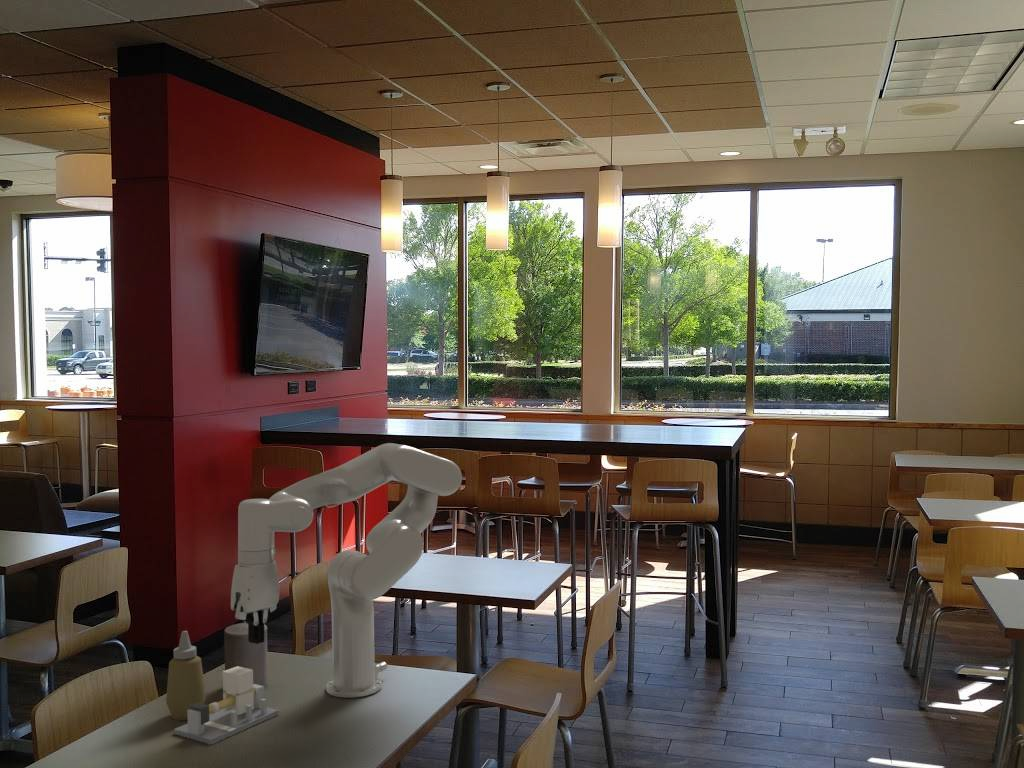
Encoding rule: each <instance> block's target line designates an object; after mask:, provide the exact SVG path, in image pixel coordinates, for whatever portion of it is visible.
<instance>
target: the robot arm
mask: <svg viewBox="0 0 1024 768" xmlns="http://www.w3.org/2000/svg"><path fill="white" fill-rule="evenodd" d="M462 480H463V475H462V472H461V469H460V467H459V465H457V464H456V463H455V462H454V461H452V460H451V459H450V460H449V459H447V458H444V457H441V456H438V455H435V454H433V453H430V452H426V451H424V450H421V449H418V448H416V447H413V446H409V445H406V444H398V443H393V442H387V443H382V444H380V445H378V446H376V447H373V448H372V449H370V450H368V451H366V452H364V453H363V454H360V455H358V456H357V457H354V458H353V459H351V460H349V461H346V462H345V463H343V464H340V465H339V466H336V467H334V468H331V469H328V470H325V471H323V472H320V473H317V474H315V475H312V476H309V477H307V478H304V479H302V480H299V481H297V482H295V483H293V484H291V485H289V486H287V487H285V488H283V489H281V490H279V491H277V492H276V493H274V494H273V495H272V496H270V497H269V498H250V499H248V498H247V499H244V500H242V501H240V502H239V505H238V507H237V508H238V512H237V516H238V517H237V522H238V523H237V527H238V528H237V534H238V535H237V539H238V540H237V546H238V547H237V551H238V552H237V556H238V557H237V564H236V565H234V568H233V575H232V581H231V589H230V609H231V610H232V611H234V612H235V615H234V618H235V620H243V621H244V623H245V622H246V624H248V641H249V642H251V643H256V644H259V643H262V642H264V624H266V623H267V621H268V617H269V616H270V614H271V613H272V612H274V611H275V610H277V604H278V603H279V601H280V599H279V598H280V584H279V583H280V580H279V573H278V572H279V570H278V565H277V562H276V560H275V554H277V549H276V548H275V532H277V533H278V532H283V533H299V532H301V531H304V530H306V529H307V528H308V527H309V526H310V525H311V524H312V522H313V521H314V520H313V519H314V510H315V509H318V508H320V507H325V506H328V505H338V504H345V503H350V502H353V501H356V500H357V499H359V498H361V497H363V496H365V495H366V494H368V493H371V492H373V491H374V490H376V489H377V488H379V487H381V486H383V485H385V484H387V483H389V482H391V481H394V482H398V483H399V482H400V483H402V484H405V485H407V490H406V494H405V497H404V499H403V500H402V501H401V502H400V504H398V505H397V506H396V507H395V508H394V509H393V510H392V511H391V512H389V513H388V514H387V515H386V516H385V517H384V518H383V519H382V520H381V521H380V522H378V523H377V524H376V525H374V526H373V527H372V529H371V530H370V531H369V532H368V534H367V536H366V539H365V548H366V549H367V551H368V553H369V554H367V553H364V552H361V551H358V550H353V549H348V550H346V549H345V550H342V551H340V552H338V553H337V554H335V556H333V558H332V559H331V560H330V563H329V565H328V568H327V583H328V584H327V585H328V589H329V596H330V604H331V605H330V607H331V644H332V646H331V647H332V649H331V651H332V654H331V655H332V680H330V681H328V682H327V684H326V685H325V689H326V691H325V692H326V693H327V694H329V695H330V696H333V697H337V698H345V699H346V698H347V699H348V698H351V699H352V698H361V697H362V698H363V697H367V696H369V695H373V694H375V693H377V692H379V691H380V690H381V688H382V687H383V682H382V681H383V680H382V679H380V678H379V677H378V675H379V673H381V672H384V671H386V670H387V668H388V664H387V663H386V662H385V661H381V662H379V663H377V664H376V662H375V661H376V660H375V657H376V656H375V611H374V608H375V607H374V603H373V602H374V600H376V599H378V598H380V597H382V596H383V595H384V594H386V593H387V592H388V591H389V590H390V589H391V588H392V587H394V585H396V584H397V582H399V581H400V580H401V579H402V578H403V577H405V575H406V574H407V573H408V572H409V571H411V570H412V569H413V567H415V565H416V564H417V563H418V561H419V560H420V558H421V556H422V555H423V551H424V546H425V545H424V538H423V536H422V533H423V532H424V531H425V530H426V529H427V528H428V527H429V525H430V524H431V523H432V522H433V520H434V518H435V515H436V512H437V506H438V499H439V496H441V497H447V496H450V495H453V494H454V493H455V492H457V491H458V490H459V488H460V486H461V485H462Z"/></svg>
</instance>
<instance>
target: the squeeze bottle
mask: <svg viewBox="0 0 1024 768" xmlns="http://www.w3.org/2000/svg"><path fill="white" fill-rule="evenodd" d="M190 640H191V639H190V636H189V633H188V630H182V631H181V633H180V639H179V644H178V646H177V647H175V648H174V649H173V657H172V659H171V660H170V661H169V662H168V675H167V686H166V698H165V699H166V700H165V702H166V703H165V704H166V705H167V708H168V710H169V713H170V716H171V718H172V719H174V720H180V721H182V720H183V721H184V720H188V716H187V710H189V709H190V706H191V705H194V704H197V703H201V704H205V700H206V698H207V695H206V694H207V693H206V687H205V686H206V685H205V679H204V672H203V671H204V669H203V665H202V664H203V663H202V658H201V657H200V656H198V655H197V646H195V645H192V643H191V641H190Z"/></svg>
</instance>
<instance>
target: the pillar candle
mask: <svg viewBox="0 0 1024 768" xmlns="http://www.w3.org/2000/svg"><path fill="white" fill-rule="evenodd" d="M223 637H224V638H223V639H224V643H223V644H224V671H226V670H228V669H231V668H234V667H237V666H239V667H243V668H248V669H252V670H253V684H257V685H261V686H264V687H265V688H267V685H268V682H269V681H268V677H269V676H268V675H269V674H268V667H269V666H268V626H267V625H266V623H264V642H262V643H259V644H256V643H251V642H249V641H248V624H246V622H245V621H244V622H240V623H236V624H232V625H231V624H230V626H226V628H225V629H224V636H223Z"/></svg>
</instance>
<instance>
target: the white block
mask: <svg viewBox="0 0 1024 768" xmlns="http://www.w3.org/2000/svg"><path fill="white" fill-rule="evenodd" d="M234 695H235V696H236V703H235V704H233V705H231V706H228V707H226V708H223V711H226V712H227V711H229V710H232V709H234V708H236V712H237V715H240V714H243V713H245V712H246V705H252V709H254V696H253V670H252V669H248V668H243V667H239V666H237V667H234V668H231V669H228V670H226V671H225V670H223V671H222V698H223V699H222V700H224V699H227V698H229V697H232V696H234Z"/></svg>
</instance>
